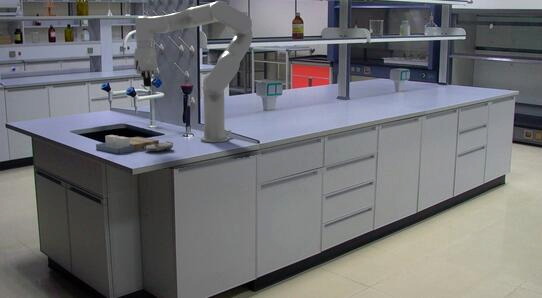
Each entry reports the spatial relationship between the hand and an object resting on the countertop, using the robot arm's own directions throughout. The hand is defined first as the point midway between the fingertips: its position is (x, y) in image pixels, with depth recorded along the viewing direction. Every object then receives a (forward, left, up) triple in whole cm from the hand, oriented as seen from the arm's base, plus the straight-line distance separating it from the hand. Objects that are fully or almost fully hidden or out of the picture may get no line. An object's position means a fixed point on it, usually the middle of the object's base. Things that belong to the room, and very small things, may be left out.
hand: (147, 86), depth 265 cm
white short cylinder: (+17, -2, -23) cm, 29 cm away
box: (+20, +1, -27) cm, 33 cm away
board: (+9, +1, -27) cm, 28 cm away
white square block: (+16, +5, -23) cm, 29 cm away
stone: (+6, +20, -27) cm, 34 cm away
